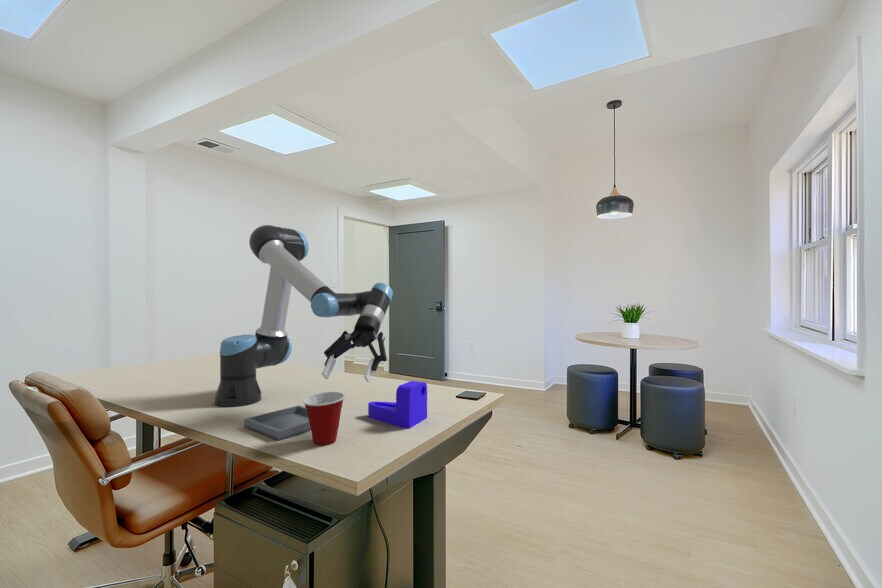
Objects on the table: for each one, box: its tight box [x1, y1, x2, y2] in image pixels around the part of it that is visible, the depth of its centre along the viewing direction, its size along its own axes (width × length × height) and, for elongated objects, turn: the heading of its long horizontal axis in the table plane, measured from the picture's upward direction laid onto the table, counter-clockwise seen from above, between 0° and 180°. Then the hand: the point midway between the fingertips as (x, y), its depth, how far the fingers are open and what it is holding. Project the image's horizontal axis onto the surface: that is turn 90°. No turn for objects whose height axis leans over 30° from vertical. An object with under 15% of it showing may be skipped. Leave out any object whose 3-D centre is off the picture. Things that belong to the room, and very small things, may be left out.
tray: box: [243, 404, 311, 442], centre depth 121 cm, size 18×18×2 cm
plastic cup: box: [302, 391, 346, 446], centre depth 107 cm, size 11×11×12 cm
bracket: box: [367, 380, 428, 430], centre depth 127 cm, size 18×11×12 cm, turn 64°
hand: (345, 378), depth 118 cm, fingers open, 13 cm apart
